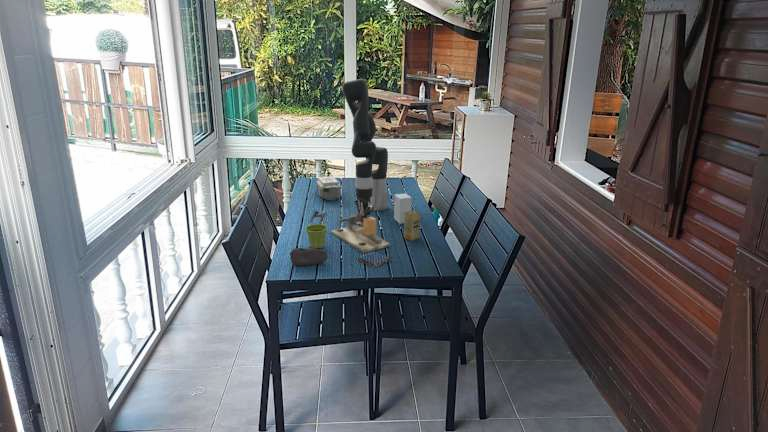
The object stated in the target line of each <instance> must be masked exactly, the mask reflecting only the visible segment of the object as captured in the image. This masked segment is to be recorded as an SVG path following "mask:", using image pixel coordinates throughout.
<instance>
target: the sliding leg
mask: <svg viewBox="0 0 768 432" xmlns="http://www.w3.org/2000/svg"><path fill="white" fill-rule="evenodd" d="M361 231H363V233H364V234H366V235H368V236H369V235H373V234H374V235H377V218H375V217H373V216H369V217H368V216H367V218H363V226H362V228H361V229H357V230H356V238H357V239H358V232H361Z"/></svg>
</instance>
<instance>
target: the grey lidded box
mask: <svg viewBox="0 0 768 432" xmlns="http://www.w3.org/2000/svg"><path fill="white" fill-rule="evenodd" d="M315 183H316V191H317V193H318V196H319V197H321V198H322V199H323V200H327V201H336V200H337V198H340V196H341V192H342V191H341V188H342V185H341V184H340V183H339V180H337V179H336V178H335V177H334V176H332V175H331V176H318V177H317V180H316V182H315Z"/></svg>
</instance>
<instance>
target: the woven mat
mask: <svg viewBox="0 0 768 432" xmlns="http://www.w3.org/2000/svg"><path fill="white" fill-rule="evenodd" d="M363 254H364V255H360V256H358V257H357V261H359V262H361V263H363V264H365V265H367V266H369V267H372V268H375V269H376V267H379V266H381V265H383V264H385V263H389V262H391V261H392V258H391V257H390V256H389V255H387V254H385V253H382V252H379V251H377V250H373V251H370V252H367V253H366V254H365V253H363Z"/></svg>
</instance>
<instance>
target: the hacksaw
mask: <svg viewBox="0 0 768 432" xmlns="http://www.w3.org/2000/svg"><path fill="white" fill-rule="evenodd" d="M325 215H328V213H327V212H325V213H324V212H322V213H321V214H319V211H318V210H314V212H313V215H312V216H311V218H310V220H309V222H308V224H312V222H313V221H314V219H315V217H320V218H319V222H318V224H322V225H324V224H323V220H324V217H325Z"/></svg>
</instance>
